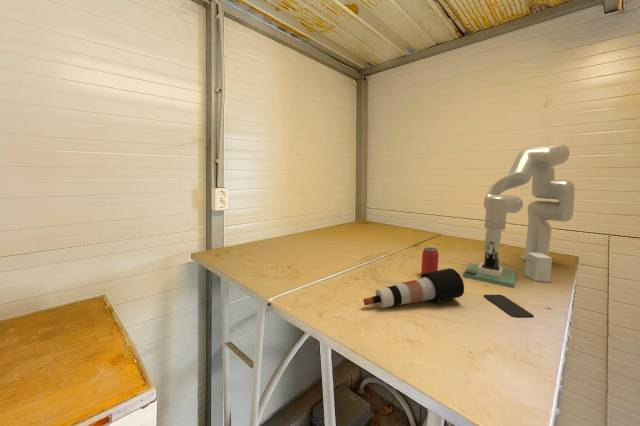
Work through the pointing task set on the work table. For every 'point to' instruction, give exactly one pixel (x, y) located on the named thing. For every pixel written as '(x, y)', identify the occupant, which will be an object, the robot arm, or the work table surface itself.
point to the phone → (508, 306)
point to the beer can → (429, 260)
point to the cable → (421, 289)
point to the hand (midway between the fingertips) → (490, 265)
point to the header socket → (490, 271)
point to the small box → (538, 267)
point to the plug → (495, 261)
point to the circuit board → (505, 279)
